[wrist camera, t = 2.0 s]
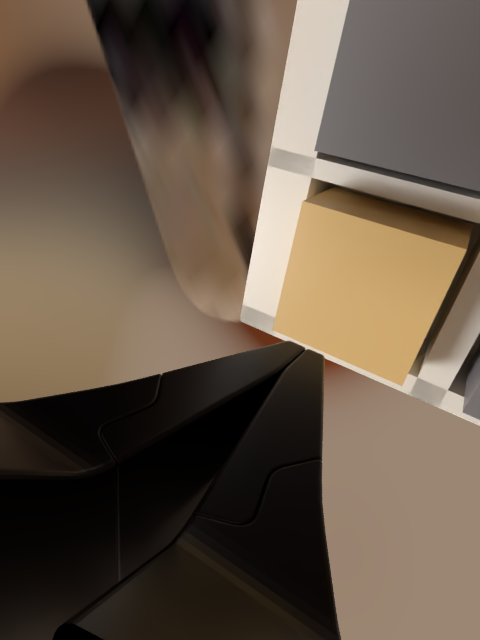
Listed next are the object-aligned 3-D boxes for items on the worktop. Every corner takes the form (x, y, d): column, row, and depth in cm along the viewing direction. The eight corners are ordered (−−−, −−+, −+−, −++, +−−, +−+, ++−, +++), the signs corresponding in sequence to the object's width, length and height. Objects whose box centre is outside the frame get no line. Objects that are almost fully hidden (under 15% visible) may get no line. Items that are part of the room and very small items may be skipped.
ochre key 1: (472, 225, 13) (466, 250, 10) (416, 344, 15) (402, 386, 13) (334, 186, 14) (302, 201, 12) (303, 300, 17) (272, 329, 14)
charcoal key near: (587, -20, 10) (616, -65, 7) (494, 179, 12) (493, 194, 10) (393, -33, 11) (366, -72, 9) (345, 144, 14) (313, 150, 11)
